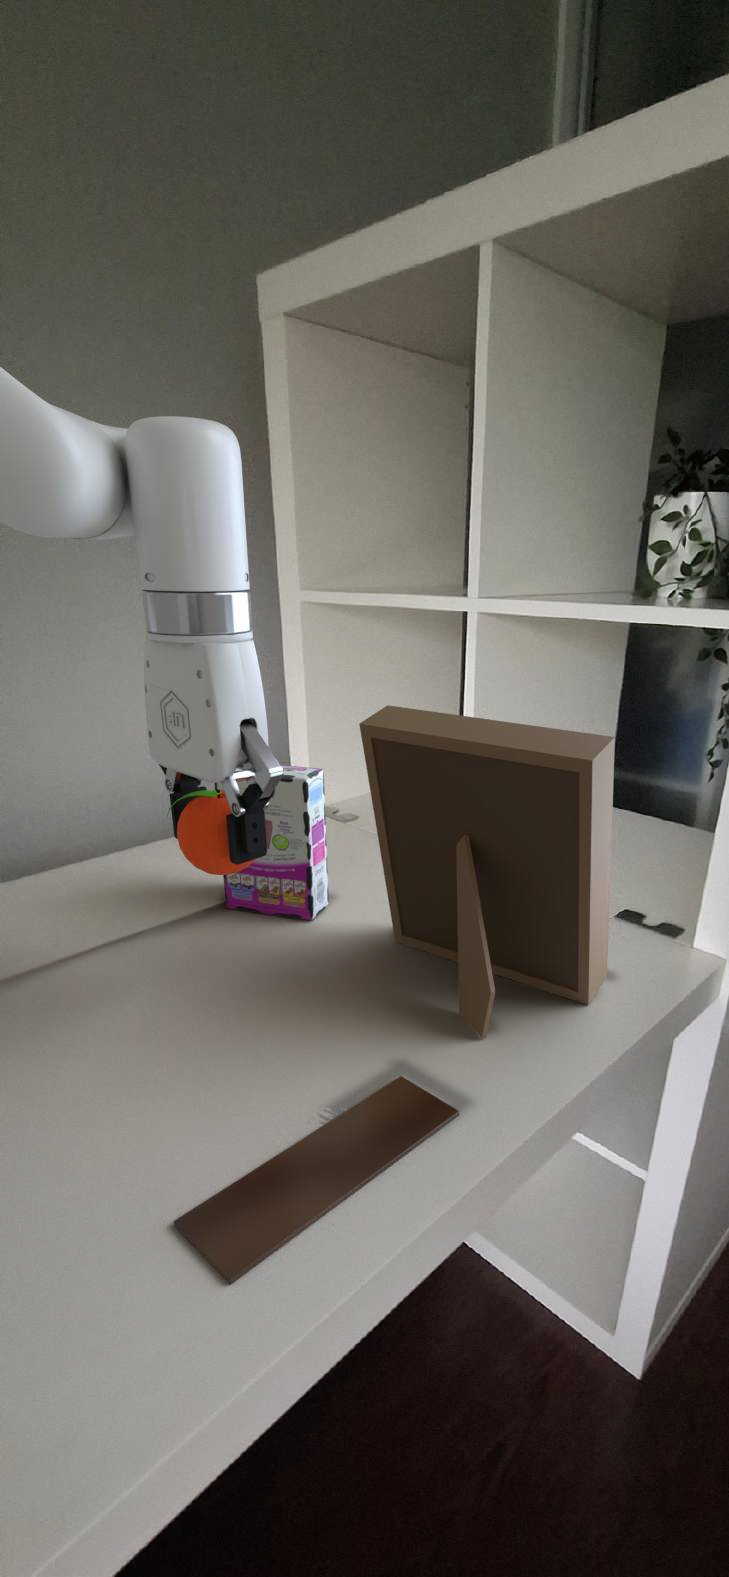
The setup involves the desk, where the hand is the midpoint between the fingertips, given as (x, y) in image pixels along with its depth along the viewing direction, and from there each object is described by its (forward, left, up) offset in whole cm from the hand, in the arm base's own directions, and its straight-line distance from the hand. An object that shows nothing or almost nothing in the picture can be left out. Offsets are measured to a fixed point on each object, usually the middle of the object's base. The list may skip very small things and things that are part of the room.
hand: (219, 845), depth 63 cm
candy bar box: (-15, +16, -16) cm, 27 cm away
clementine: (0, 0, -3) cm, 3 cm away
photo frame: (+12, +18, -16) cm, 27 cm away
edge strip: (+21, -7, -16) cm, 27 cm away
